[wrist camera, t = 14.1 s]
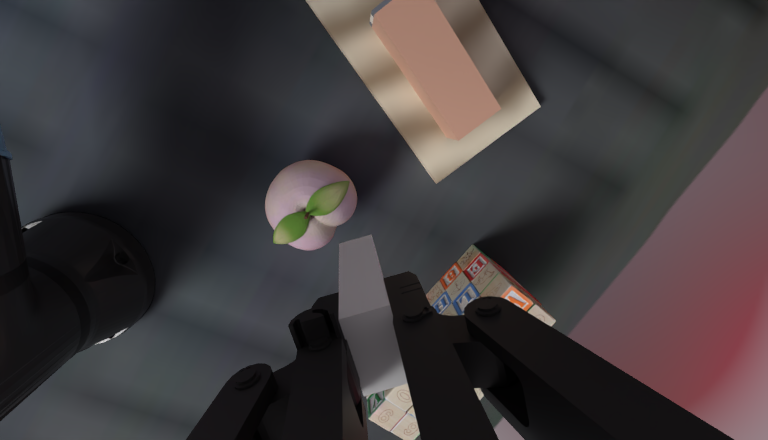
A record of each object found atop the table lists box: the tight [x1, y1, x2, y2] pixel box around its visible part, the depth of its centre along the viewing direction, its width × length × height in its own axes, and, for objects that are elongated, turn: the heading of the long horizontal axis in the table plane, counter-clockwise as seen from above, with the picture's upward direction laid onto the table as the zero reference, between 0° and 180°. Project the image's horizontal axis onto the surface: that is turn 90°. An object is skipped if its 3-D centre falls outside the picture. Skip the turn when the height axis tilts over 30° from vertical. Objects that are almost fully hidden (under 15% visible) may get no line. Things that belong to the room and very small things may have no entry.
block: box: [369, 0, 501, 141], centre depth 37 cm, size 5×5×14 cm
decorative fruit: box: [265, 160, 357, 250], centre depth 39 cm, size 9×8×10 cm
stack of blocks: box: [366, 245, 556, 440], centre depth 43 cm, size 21×6×12 cm, turn 141°
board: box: [305, 0, 541, 184], centre depth 40 cm, size 24×14×1 cm, turn 36°
